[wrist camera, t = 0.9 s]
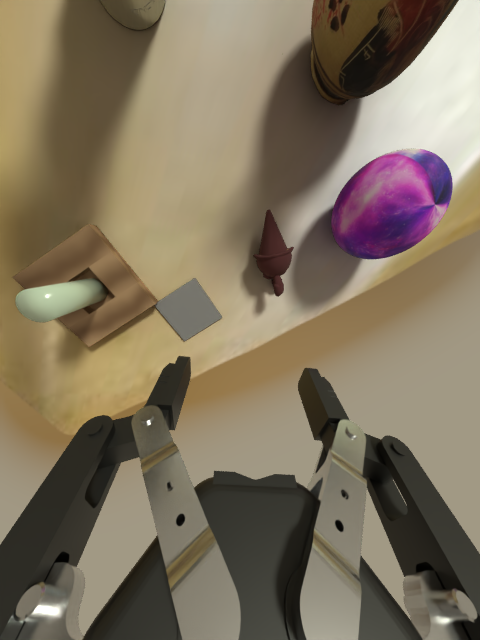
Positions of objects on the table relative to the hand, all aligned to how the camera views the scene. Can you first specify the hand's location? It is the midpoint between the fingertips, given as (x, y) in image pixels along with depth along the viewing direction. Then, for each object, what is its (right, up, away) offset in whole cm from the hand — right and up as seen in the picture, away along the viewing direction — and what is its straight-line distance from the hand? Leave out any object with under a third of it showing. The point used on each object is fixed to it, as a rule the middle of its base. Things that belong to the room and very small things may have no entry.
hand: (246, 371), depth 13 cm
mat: (-11, +6, +26) cm, 29 cm away
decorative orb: (+22, +24, +24) cm, 41 cm away
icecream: (+5, +17, +24) cm, 30 cm away
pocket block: (-28, +9, +22) cm, 37 cm away
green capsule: (-28, +9, +21) cm, 37 cm away
